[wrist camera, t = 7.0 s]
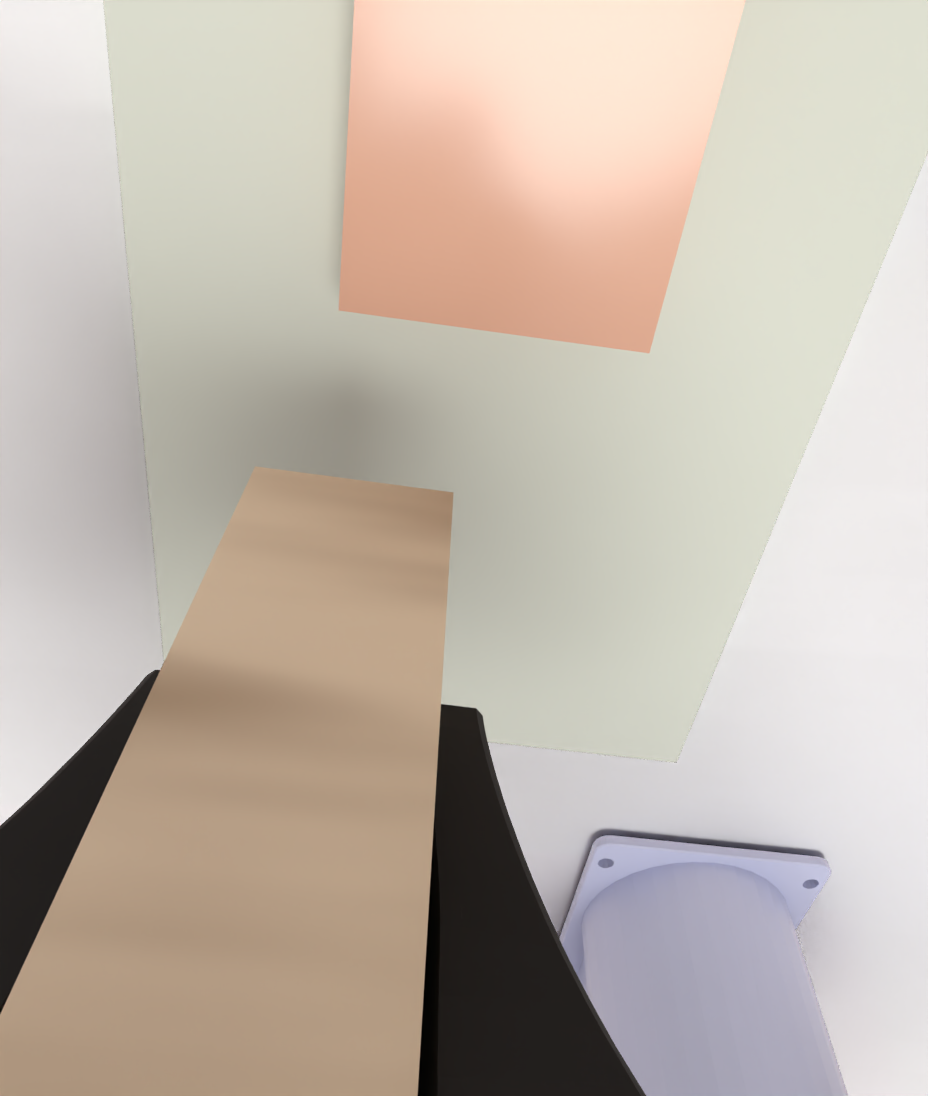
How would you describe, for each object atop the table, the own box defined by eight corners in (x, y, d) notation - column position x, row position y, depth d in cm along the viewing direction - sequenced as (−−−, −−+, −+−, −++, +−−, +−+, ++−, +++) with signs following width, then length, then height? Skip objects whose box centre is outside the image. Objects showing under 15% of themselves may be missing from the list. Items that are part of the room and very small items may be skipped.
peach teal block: (648, 353, 16) (824, -286, 11) (338, 310, 16) (372, -371, 11) (637, 324, 18) (788, -261, 13) (350, 283, 17) (384, -335, 12)
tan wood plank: (417, 723, 16) (356, 1403, 8) (254, 704, 15) (42, 1382, 8) (453, 492, 13) (410, 1206, 5) (255, 465, 13) (-72, 1169, 5)
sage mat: (673, 749, 26) (676, 762, 25) (173, 694, 25) (168, 707, 24) (1059, -207, 13) (1077, -213, 13) (80, -387, 12) (67, -399, 12)
